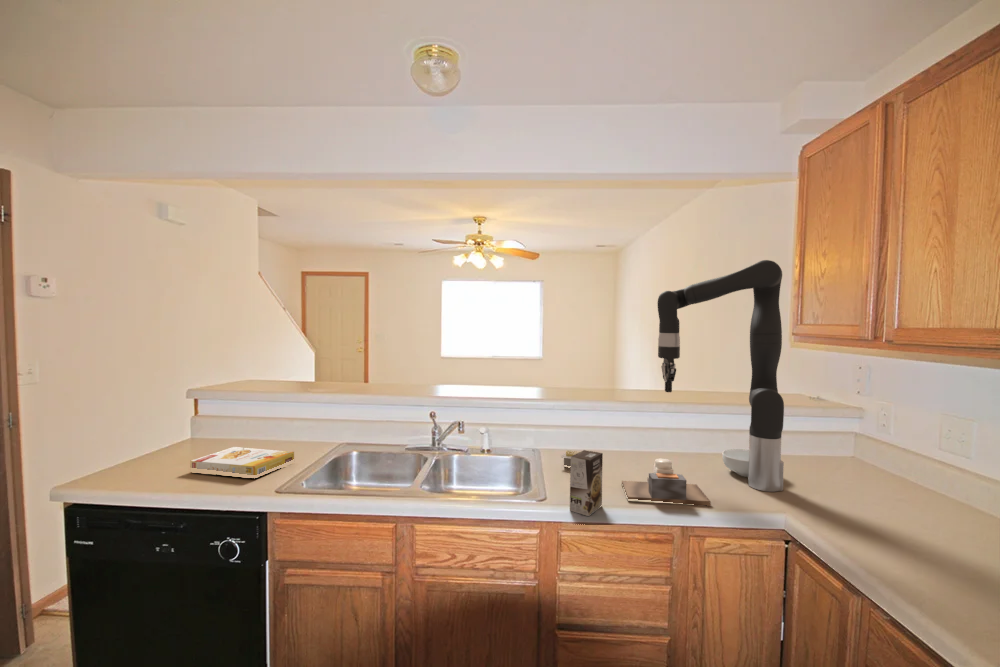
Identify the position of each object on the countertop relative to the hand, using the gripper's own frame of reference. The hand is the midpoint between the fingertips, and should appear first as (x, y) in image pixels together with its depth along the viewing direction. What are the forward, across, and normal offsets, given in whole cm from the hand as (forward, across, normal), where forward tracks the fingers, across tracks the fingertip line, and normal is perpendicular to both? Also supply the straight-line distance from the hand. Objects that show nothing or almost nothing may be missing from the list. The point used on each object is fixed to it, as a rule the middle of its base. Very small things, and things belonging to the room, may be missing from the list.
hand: (668, 391), depth 168 cm
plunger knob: (+27, -25, +7) cm, 38 cm away
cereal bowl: (+29, -1, -28) cm, 41 cm away
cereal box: (+30, -21, +156) cm, 160 cm away
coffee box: (+29, -40, +32) cm, 59 cm away
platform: (+30, -4, +34) cm, 45 cm away
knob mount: (+29, -26, +7) cm, 40 cm away
